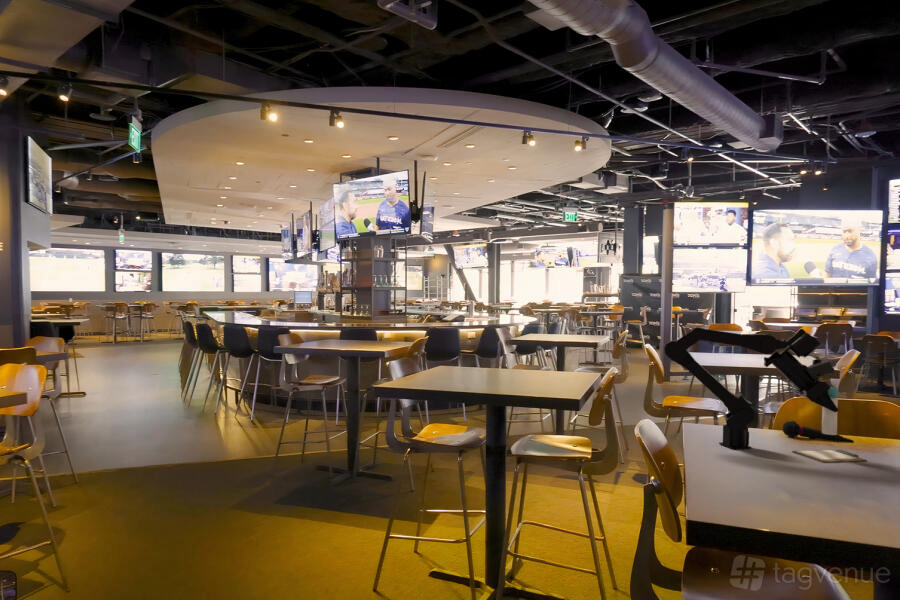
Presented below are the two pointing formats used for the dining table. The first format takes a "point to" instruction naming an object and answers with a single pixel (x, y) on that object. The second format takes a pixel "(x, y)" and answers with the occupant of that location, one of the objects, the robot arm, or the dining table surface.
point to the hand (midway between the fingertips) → (835, 410)
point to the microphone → (809, 433)
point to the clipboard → (830, 455)
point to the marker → (830, 414)
